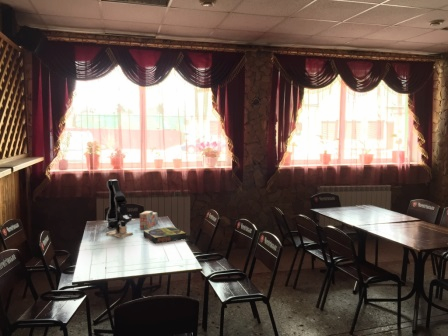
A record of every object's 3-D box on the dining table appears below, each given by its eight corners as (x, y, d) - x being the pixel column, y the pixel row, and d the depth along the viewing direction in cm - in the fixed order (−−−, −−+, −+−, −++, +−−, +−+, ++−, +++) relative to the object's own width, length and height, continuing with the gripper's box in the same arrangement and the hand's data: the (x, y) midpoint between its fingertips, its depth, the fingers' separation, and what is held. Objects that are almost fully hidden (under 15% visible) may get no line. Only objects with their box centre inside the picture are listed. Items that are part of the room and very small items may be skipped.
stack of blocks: (151, 222, 347) (150, 208, 346) (157, 223, 346) (157, 208, 344) (139, 228, 327) (139, 213, 325) (147, 229, 325) (146, 214, 324)
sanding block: (115, 233, 306) (115, 226, 306) (119, 231, 310) (119, 225, 310) (122, 234, 303) (122, 227, 302) (126, 232, 307) (126, 226, 306)
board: (105, 234, 307) (105, 232, 307) (115, 231, 316) (115, 229, 316) (123, 237, 298) (123, 235, 298) (132, 234, 307) (132, 232, 307)
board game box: (186, 239, 294) (185, 232, 293) (155, 244, 282) (155, 237, 281) (172, 232, 314) (172, 226, 313) (143, 237, 302) (143, 230, 301)
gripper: (119, 215, 293) (119, 236, 294) (136, 210, 309) (137, 230, 311) (108, 213, 298) (108, 234, 300) (125, 209, 314) (126, 228, 316)
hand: (120, 231), depth 306 cm, fingers closed on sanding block, 4 cm apart
